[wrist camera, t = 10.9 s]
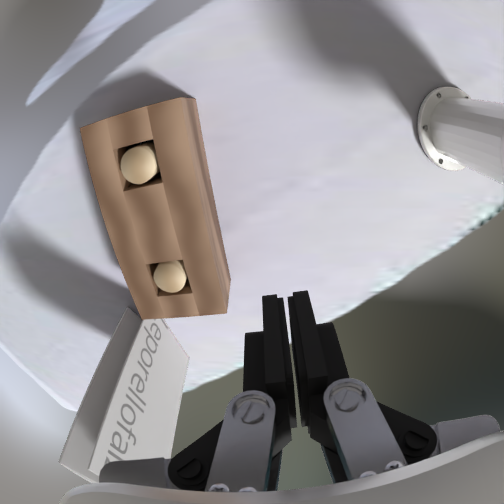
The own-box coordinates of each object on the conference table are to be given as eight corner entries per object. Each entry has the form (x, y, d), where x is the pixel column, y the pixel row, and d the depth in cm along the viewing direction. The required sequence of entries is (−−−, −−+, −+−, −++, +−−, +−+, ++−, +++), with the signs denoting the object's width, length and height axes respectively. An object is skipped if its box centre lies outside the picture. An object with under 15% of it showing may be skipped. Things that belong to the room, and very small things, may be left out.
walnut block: (195, 98, 33) (180, 97, 26) (230, 279, 45) (226, 313, 38) (110, 121, 34) (79, 128, 26) (156, 287, 46) (141, 319, 38)
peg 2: (192, 235, 41) (180, 262, 34) (198, 260, 43) (188, 291, 36) (165, 239, 41) (149, 266, 34) (172, 263, 43) (159, 293, 36)
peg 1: (169, 135, 34) (150, 143, 28) (175, 165, 36) (158, 179, 30) (141, 142, 35) (116, 152, 28) (147, 171, 37) (125, 187, 30)
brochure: (189, 357, 53) (162, 508, 26) (165, 362, 54) (130, 503, 27) (152, 300, 47) (89, 469, 20) (126, 307, 48) (58, 462, 21)
